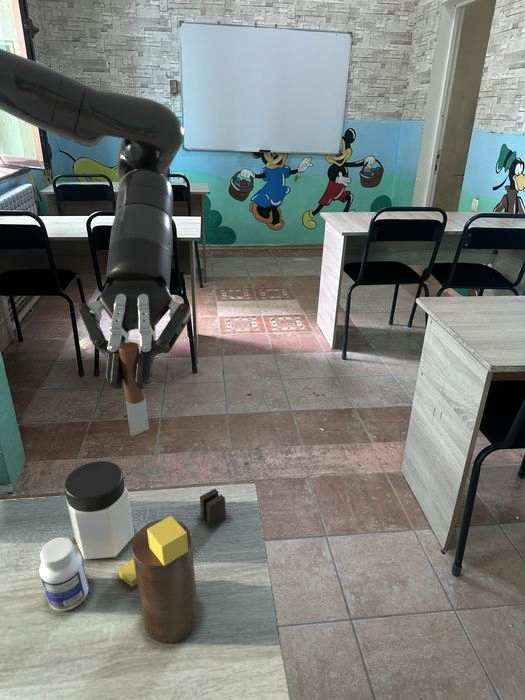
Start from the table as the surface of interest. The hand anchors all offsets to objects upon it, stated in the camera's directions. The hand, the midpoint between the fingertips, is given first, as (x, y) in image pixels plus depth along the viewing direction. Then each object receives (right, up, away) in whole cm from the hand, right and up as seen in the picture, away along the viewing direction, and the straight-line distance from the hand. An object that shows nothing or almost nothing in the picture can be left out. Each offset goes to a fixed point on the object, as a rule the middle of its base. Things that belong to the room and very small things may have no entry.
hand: (128, 386), depth 54 cm
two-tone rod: (0, -6, +5) cm, 8 cm away
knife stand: (+7, -23, +25) cm, 35 cm away
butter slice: (-5, -27, +16) cm, 32 cm away
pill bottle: (-12, -30, +12) cm, 34 cm away
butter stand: (+3, -31, +9) cm, 33 cm away
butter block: (+4, -19, +2) cm, 20 cm away
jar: (-10, -25, +21) cm, 34 cm away
